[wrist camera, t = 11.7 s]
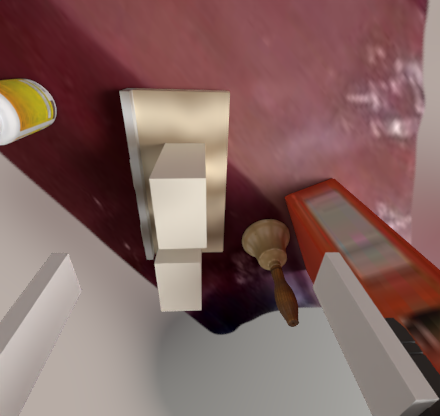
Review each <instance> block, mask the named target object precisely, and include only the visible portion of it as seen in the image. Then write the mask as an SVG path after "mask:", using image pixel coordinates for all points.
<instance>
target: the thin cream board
mask: <svg viewBox="0 0 440 416" xmlns="http://www.w3.org/2000/svg"><path fill="white" fill-rule="evenodd" d="M119 93H120V99H121V105H122V111H123V117H124V124H125V130H126V136H127V142H128V148H129V154H130V166H131V172H132V178H133V184H134V188H135V191H136V198H137V204H138V210H139V216H140V222H141V225H140V227H141V233H142V239H143V245H144V247H145V253H146V259H147V260H153V258H154V254H155V253H157V250H158V240H157V233H156V226H155V218H154V211H153V204H152V197H151V189H150V182H149V178H150V175H151V173H152V171H153V169H154V167H155V164H156V162H157V160H158V158H159V156H160V153H161V151H162V149H163V147H164V145H165V143H205V164H206V228H207V248H202V252H223V238H224V216H225V193H226V171H227V148H228V125H229V103H230V92H229V91H222V90H182V89H142V88H127V89H124V90H121V91H119Z"/></svg>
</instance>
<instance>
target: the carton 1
mask: <svg viewBox="0 0 440 416" xmlns="http://www.w3.org/2000/svg"><path fill="white" fill-rule="evenodd" d="M149 182H150V189H151V197H152V204H153V211H154V218H155V226H156V233H157V240H158V247H159V249H189V248H207V228H206V164H205V143H165V145H164V147H163V149H162V151H161V153H160V156H159V158H158V160H157V162H156V164H155V167H154V169H153V171H152V173H151V175H150V178H149Z"/></svg>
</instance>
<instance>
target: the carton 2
mask: <svg viewBox="0 0 440 416" xmlns="http://www.w3.org/2000/svg"><path fill="white" fill-rule="evenodd" d="M154 264H155V271H156V278H157V285H158V292H159V299H160V307H161V311H192V310H201V287H202V248H189V249H159V247H158V250H157V254H156V258H155V263H154Z"/></svg>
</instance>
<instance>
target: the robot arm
mask: <svg viewBox="0 0 440 416" xmlns="http://www.w3.org/2000/svg"><path fill="white" fill-rule="evenodd" d="M313 290H314V292H315V294H316V296H317V298H318V300H319V302H320V304H321V307H322V309H323V311H324V313H325V315H326V317H327V319H328V322H329V324H330V326H331V328H332V330H333V332H334V334H335V337H336V339H337V341H338V343H339V345H340V347H341V349H342V351H343V354H344V356H345V358H346V360H347V362H348V364H349V366H350V369H351V371H352V373H353V375H354V377H355V379H356V381H357V383H358V386H359V388H360V390H361V392H362V394H363V396H364V398H365V400H366V403H367V405H368V407H369V409H370V411H371V413H372V415H373V416H440V374H439V373H438V372H437V370H436V369H435V368H434V366H433V365H432V363H431V362H430V361H429V359H428V358H427V357H426V355H424V354H423V351H422V350H421V349H420V347H419V346H418V344H416V343H415V340H414V339H413V338H412V336H411V335H410V334H409V332H408V331H407V329H406V328H405V327H403V326H402V325H401V324H400V323H399V322H398V321H397V320H395V319H394V318H384V317H383V316H382V314H381V313H380V311H379V310H378V308H377V307H376V306H375V304H374V303H373V301H372V300H371V298H370V297H369V295H368V294H367V292H366V291H365V289H364V288H363V287H362V285H361V284H360V282H359V281H358V279H357V278H356V276H355V275H354V273H353V272H352V270H351V269H350V268H349V266H348V265H347V263H346V262H345V260H344V259H343V257H342V256H341V254H340V253H339V252H325V255H324V258H323V260H322V263H321V266H320V269H319V271H318V274H317V277H316V280H315V282H314V285H313ZM81 292H82V290H81V287H80V284H79V281H78V279H77V276H76V273H75V270H74V268H73V265H72V262H71V259H70V256H69V254H68V253H52V254H51V255H50V257H49V258H48V259H47V261H46V262H45V263H44V265H43V266H42V267H41V269H40V270H39V271H38V273H37V274H36V275H35V277H34V278H33V279H32V281H31V282H30V283H29V285H28V286H27V287H26V289H25V290H24V291H23V293H22V294H21V295H20V297H19V298H18V299H17V300H16V302H15V303H14V305H13V306H12V307H11V309H10V310H9V311H8V312H7V314H6V315H5V316H4V318H3V319H2V320H1V322H0V416H19V414H20V412H21V410H22V408H23V406H24V404H25V402H26V400H27V398H28V396H29V394H30V392H31V390H32V388H33V386H34V384H35V383H36V381H37V379H38V377H39V374H40V373H41V371H42V369H43V367H44V365H45V363H46V361H47V359H48V357H49V355H50V353H51V351H52V349H53V347H54V345H55V343H56V341H57V339H58V337H59V335H60V333H61V331H62V329H63V327H64V325H65V323H66V321H67V319H68V317H69V315H70V313H71V311H72V309H73V307H74V306H75V304H76V301H77V300H78V298H79V296H80V294H81Z"/></svg>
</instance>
